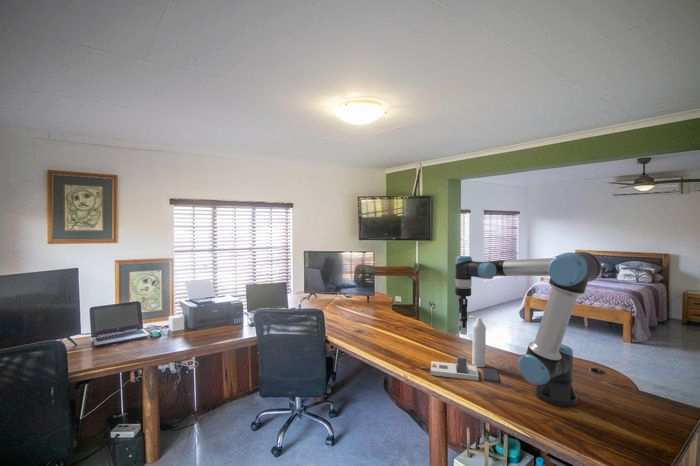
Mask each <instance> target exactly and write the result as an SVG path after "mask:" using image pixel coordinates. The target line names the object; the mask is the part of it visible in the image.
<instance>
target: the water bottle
mask: <svg viewBox="0 0 700 466" xmlns="http://www.w3.org/2000/svg"><path fill="white" fill-rule="evenodd" d="M469 319H475V315H469ZM486 331H487V328H486V325H485V324H484V322H483V319H482V317H480V316H479V317H476V321H475V322H474V323H473V324H472V343H471V344H472V346H471V347H472V352H471V355H472V356H471V358H472V359H471V364H472V365H471V366H476V368H485V367H486V342H487V341H486V338H487V337H486V334H487V333H486Z"/></svg>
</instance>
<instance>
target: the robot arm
mask: <svg viewBox="0 0 700 466" xmlns="http://www.w3.org/2000/svg"><path fill="white" fill-rule="evenodd" d="M472 258H473V257H471V256H470V255H469V256H468V255H457V256H456V257H455V267H454V268H455V279H454V283H455V290H454V291H455V292H454V293H455V295H456V296H458V297H459V298H458V305H459V307H458V310H459V311H458V312H459V314H458V318H459V319H458V324H459V325H458V327H460V335H465V336H467V334H468V303H469V302H468V298H467V297H471V296H472V277H473V278H479V279H484V280H491V279H493V278H495V277H550V278H549V281H548V284H549V285H550V287H551V290H550V293H549V295H548V299H547V302H546V305H545V308H544V312H543V315H542V317H541V321H540V324H539V326H538V329H537V333H536V336H535V339H534V341H531V342H529V343H528V347H527V349H526V353H525V354H524V355H521V357H519V359H518V361H517V363H518V364H517V366H518V370H519V371H520V373H521V376H522V377H523V378H524V379H525V380H526V381H527V382H529V383H530V384H532V385H536V386H535V389H534V390H535V392H534V393H535V394H534V395H535V396H536V397H537V398H538V399H539V400H541V401H542V402H544V403H546V404H549V405H553V406H557V407H562V408H571V407H575V406H577V405H578V397H577V394H576V391H575V388H574V384H573V371H574V370H573V367H574V366H573V365H574V364H573V362H574V354H573V353H574V352H573V349H572V348H571V347H570V346H568V345H565V344H562V342H563V339H564V336H565V334H566V330H567V327H568V325H569V322H570V319H571V318H572V317H571V316H572V313H573V310H574V308H575V305H576V302H577V299H578V297H579V296H581V295H584V294H585V291H586V288H587V285H588V283H589V282H593V281H594V280H596V279H597V278H598V277H599V276H600V275H601V273H602V264H601V261H600V259H599V258H598V257H597V256H596V255H594V254H593V253H590V252H586V251H580V252H579V251H578V252H563V253H561V254H558V255H555V257H553V258H552V257H551V258H550V257H548V258H547V257H546V258H545V257H544V258H527V259H525V258H524V259H506V260H505V259H499V260H498V259H497V260H488V261H476V260H474V261H473V260H472Z"/></svg>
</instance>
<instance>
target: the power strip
mask: <svg viewBox="0 0 700 466" xmlns="http://www.w3.org/2000/svg"><path fill="white" fill-rule="evenodd" d="M477 368H478V367H476V366H474V365H471V364H466V374H464V373H457V363H451V362H444V361H441V362H440V361H434V360H431V363H430V367H427V366H425V367H424V366H420V367H419V369H420V370H428V371H430V375H431V376H437V377H444V378H454V379H460V380H469V381H470V380H471V381H477V382H479V378H480V376H479V372H478V369H477Z"/></svg>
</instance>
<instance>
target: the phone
mask: <svg viewBox="0 0 700 466" xmlns="http://www.w3.org/2000/svg"><path fill="white" fill-rule="evenodd" d="M481 368H482V369H481V371H482V377H483V381H485V382H493V383H499V377H498V372H497V369H493V368H485V367H481Z"/></svg>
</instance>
